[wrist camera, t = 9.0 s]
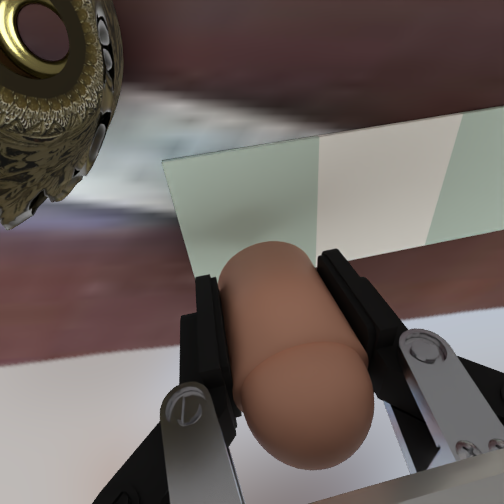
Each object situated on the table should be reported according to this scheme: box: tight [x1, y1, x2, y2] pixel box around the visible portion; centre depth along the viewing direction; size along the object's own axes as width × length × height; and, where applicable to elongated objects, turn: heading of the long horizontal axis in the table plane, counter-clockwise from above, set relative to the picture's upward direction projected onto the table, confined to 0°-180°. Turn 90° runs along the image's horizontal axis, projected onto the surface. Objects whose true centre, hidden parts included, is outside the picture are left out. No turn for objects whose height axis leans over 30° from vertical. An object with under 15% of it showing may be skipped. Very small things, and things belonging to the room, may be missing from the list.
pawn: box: [218, 241, 374, 470], centre depth 9 cm, size 4×4×6 cm
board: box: [161, 106, 504, 283], centre depth 17 cm, size 30×8×1 cm, turn 96°
